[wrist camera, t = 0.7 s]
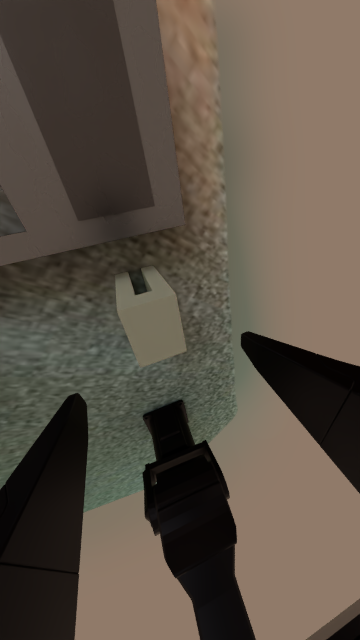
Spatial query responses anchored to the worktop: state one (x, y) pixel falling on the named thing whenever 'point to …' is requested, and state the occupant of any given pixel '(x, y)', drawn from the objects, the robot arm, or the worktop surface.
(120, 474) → the worktop surface
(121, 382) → the worktop surface
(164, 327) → the beige slotted block
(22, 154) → the grey slotted tray
